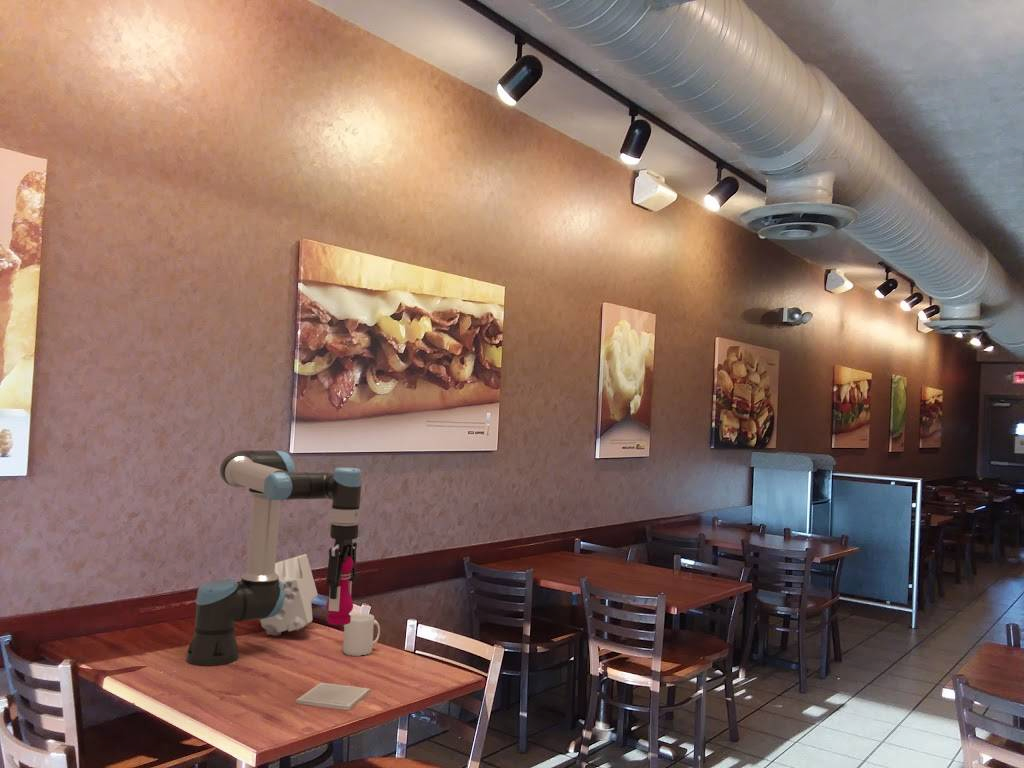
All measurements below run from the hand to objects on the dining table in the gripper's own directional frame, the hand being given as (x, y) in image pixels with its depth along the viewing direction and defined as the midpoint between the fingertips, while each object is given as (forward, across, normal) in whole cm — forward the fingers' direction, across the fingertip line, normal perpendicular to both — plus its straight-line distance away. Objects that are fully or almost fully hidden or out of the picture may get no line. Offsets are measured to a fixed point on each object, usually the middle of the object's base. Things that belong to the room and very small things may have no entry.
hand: (339, 607), depth 221 cm
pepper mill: (+4, 0, 0) cm, 4 cm away
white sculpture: (+25, +55, +44) cm, 75 cm away
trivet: (+25, 0, 0) cm, 25 cm away
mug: (+25, +43, +10) cm, 51 cm away
